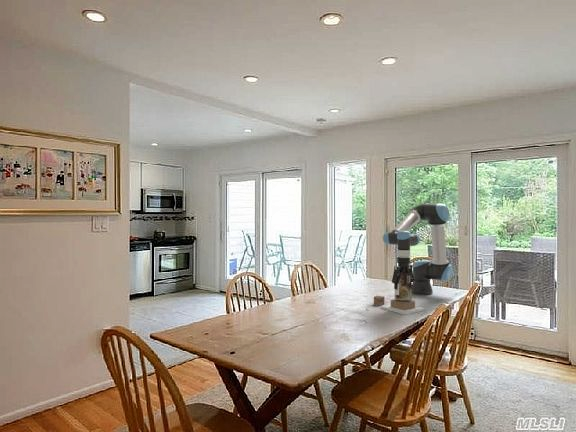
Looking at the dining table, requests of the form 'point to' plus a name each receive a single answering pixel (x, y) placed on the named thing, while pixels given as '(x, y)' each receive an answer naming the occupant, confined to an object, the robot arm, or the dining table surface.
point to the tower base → (417, 309)
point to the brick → (379, 300)
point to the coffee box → (405, 287)
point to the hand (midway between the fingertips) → (403, 293)
